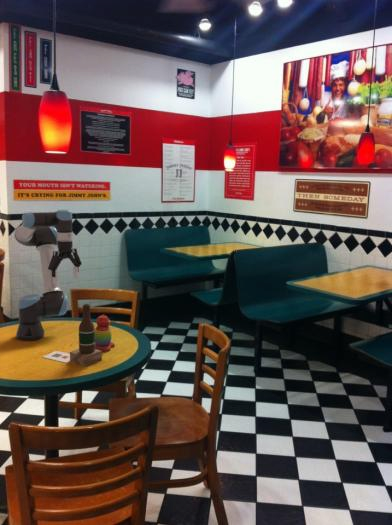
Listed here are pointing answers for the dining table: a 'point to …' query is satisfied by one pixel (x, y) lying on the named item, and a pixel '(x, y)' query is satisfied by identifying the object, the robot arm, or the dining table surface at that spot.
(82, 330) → the beer bottle
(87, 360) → the walnut base brick
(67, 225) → the robot arm
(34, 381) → the dining table surface
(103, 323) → the stacking bear
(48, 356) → the page
